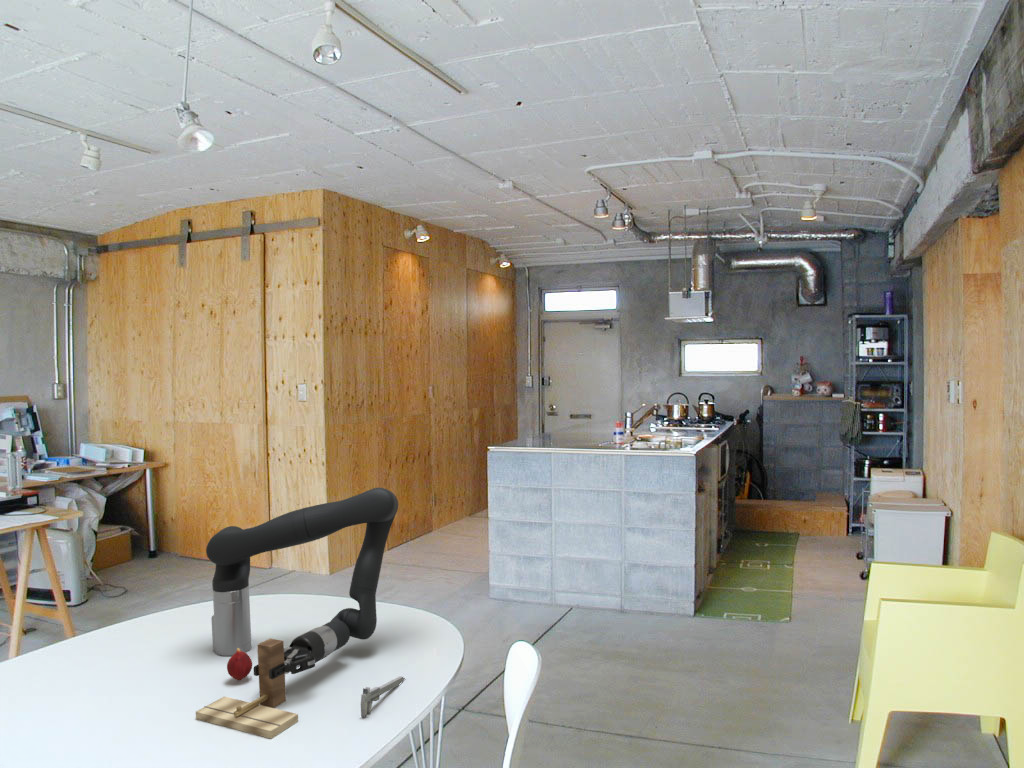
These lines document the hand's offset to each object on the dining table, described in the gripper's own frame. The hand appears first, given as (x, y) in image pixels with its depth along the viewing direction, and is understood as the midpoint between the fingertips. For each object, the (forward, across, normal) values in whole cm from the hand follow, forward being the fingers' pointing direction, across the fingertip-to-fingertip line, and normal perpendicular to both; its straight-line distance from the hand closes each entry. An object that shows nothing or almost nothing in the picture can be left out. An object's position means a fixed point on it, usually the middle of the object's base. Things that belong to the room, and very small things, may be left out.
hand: (262, 673), depth 169 cm
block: (+2, 0, +8) cm, 8 cm away
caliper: (-15, +22, +8) cm, 28 cm away
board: (+6, 0, +8) cm, 10 cm away
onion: (-9, -16, +8) cm, 20 cm away
